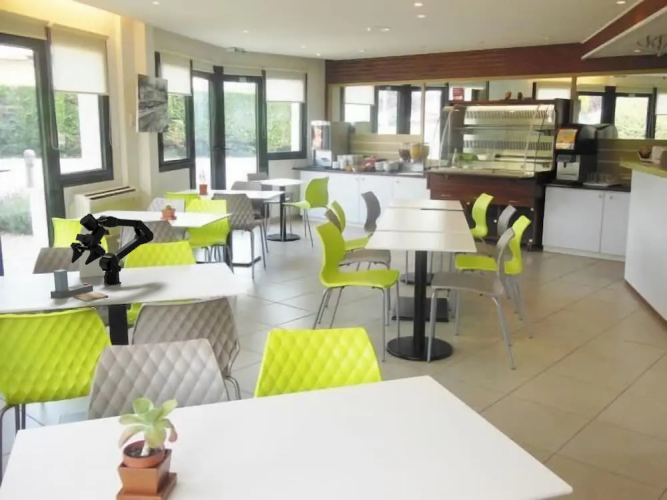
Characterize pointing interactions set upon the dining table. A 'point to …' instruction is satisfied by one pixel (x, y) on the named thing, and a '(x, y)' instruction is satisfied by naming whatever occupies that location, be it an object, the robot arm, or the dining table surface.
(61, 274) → the plug
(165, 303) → the dining table surface
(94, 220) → the robot arm
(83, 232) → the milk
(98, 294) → the cork mat
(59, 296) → the gray slotted board
